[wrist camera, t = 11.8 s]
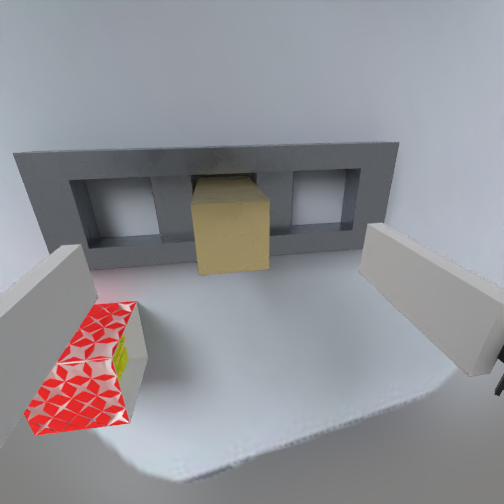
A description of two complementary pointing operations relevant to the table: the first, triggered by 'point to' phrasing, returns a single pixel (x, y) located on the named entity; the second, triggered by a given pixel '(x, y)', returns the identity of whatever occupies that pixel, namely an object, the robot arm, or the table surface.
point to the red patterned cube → (94, 374)
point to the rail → (181, 194)
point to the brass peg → (230, 225)
